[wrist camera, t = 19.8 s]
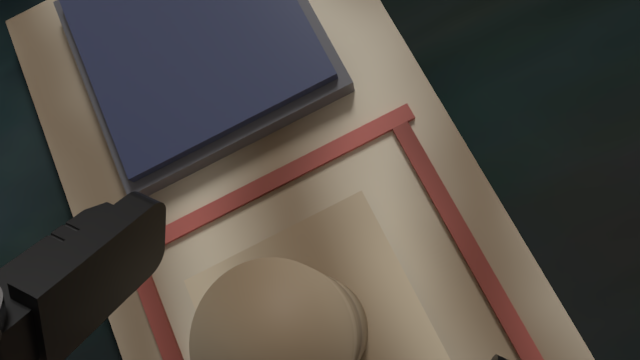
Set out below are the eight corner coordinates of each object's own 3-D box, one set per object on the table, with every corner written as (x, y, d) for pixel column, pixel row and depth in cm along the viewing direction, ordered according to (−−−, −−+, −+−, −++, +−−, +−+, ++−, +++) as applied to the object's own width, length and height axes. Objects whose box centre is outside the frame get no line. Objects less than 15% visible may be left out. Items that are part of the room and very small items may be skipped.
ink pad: (137, 201, 20) (122, 194, 19) (64, 12, 22) (46, -4, 21) (354, 91, 20) (352, 77, 18) (257, -87, 22) (249, -109, 21)
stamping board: (225, 608, 17) (213, 630, 16) (21, 33, 23) (2, 19, 22) (618, 415, 17) (634, 423, 16) (305, -114, 23) (300, -136, 22)
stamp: (284, 456, 17) (181, 592, 9) (213, 284, 19) (70, 265, 10) (452, 372, 17) (505, 431, 9) (366, 207, 19) (343, 125, 10)
